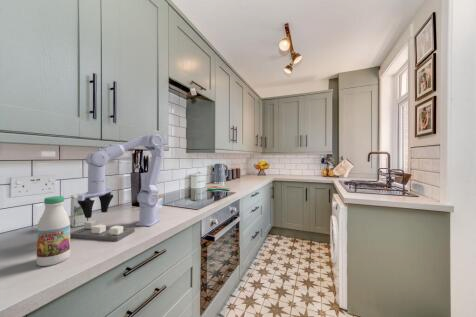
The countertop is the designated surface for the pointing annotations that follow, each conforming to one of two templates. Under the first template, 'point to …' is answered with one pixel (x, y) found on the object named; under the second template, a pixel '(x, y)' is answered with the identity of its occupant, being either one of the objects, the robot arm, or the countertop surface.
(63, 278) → the countertop surface
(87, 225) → the switch
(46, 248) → the milk bottle
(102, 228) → the switch
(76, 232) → the switch panel
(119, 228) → the switch
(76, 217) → the syrup box
